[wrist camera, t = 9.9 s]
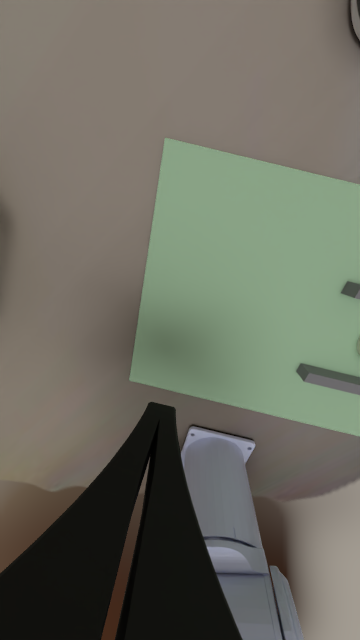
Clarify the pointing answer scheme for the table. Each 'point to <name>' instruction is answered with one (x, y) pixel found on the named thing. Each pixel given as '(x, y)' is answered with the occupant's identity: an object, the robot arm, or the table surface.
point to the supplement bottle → (356, 16)
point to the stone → (358, 346)
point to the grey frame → (327, 376)
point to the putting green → (251, 286)
